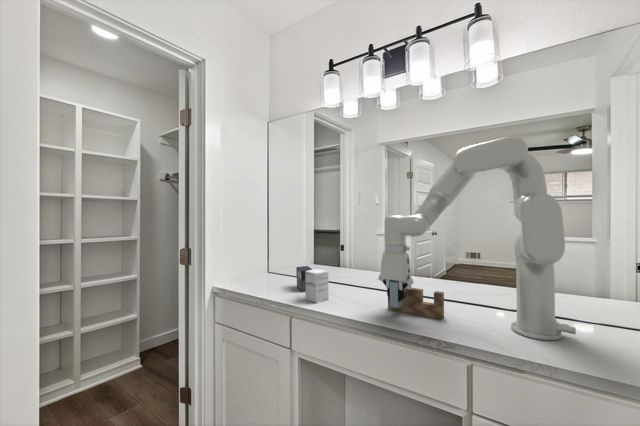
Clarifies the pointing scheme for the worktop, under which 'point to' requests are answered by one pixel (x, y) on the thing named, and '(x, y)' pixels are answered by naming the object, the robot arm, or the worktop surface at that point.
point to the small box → (302, 277)
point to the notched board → (421, 304)
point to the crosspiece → (396, 294)
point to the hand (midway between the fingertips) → (395, 298)
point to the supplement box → (316, 285)
